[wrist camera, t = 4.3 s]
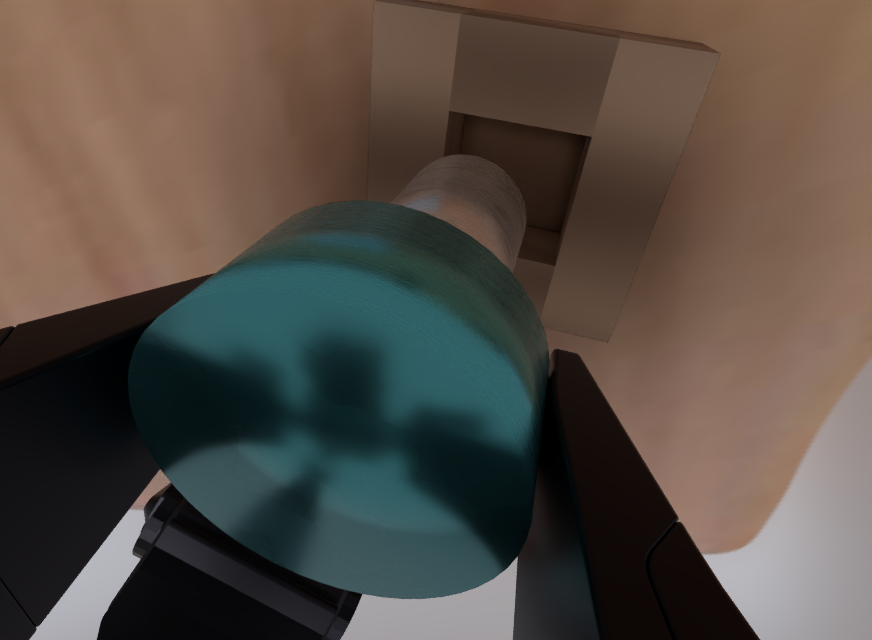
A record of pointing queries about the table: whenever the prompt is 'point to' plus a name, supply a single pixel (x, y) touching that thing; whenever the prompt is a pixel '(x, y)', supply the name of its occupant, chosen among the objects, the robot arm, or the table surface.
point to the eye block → (547, 108)
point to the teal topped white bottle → (362, 389)
